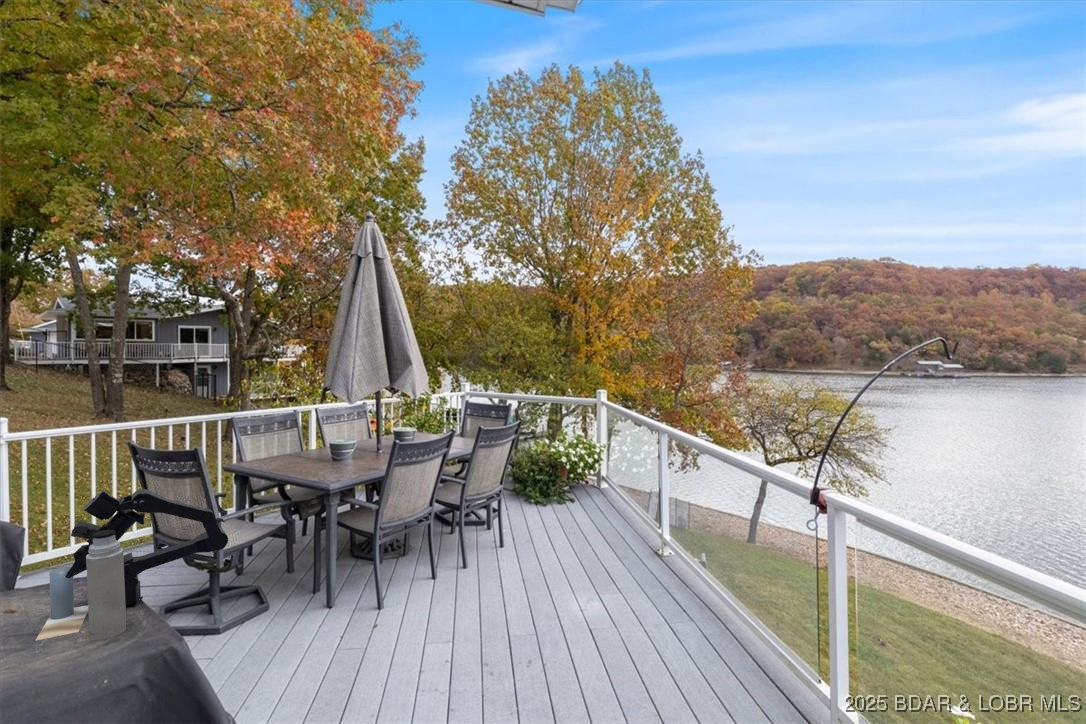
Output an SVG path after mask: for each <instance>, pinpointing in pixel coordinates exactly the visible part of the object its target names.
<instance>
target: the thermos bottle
mask: <svg viewBox="0 0 1086 724" xmlns="http://www.w3.org/2000/svg"><path fill="white" fill-rule="evenodd" d="M115 534H116V532H115V530H104V531H100V532H96V533H94V534H93V544H92V545H91V546H90V547H89V551H88V552H89V554H88V555H87V556H86V567H87V570H86V585H87V586H86V587H87V590H86V591H87V605H88V613H87V615H88V631H89V632H88V633H89V639H90V640H91V641H104V640H108V639H112V638H115V637H117V636H119V635H122V634H123V633H124V632H125V631H126V630H127V612H126V611H127V610H126V609H127V608H126V606H125V582H124V557H123V556H124V549H123V548H122V547H121V541H119V540H118V541H117V540H116V538H115Z"/></svg>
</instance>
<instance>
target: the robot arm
mask: <svg viewBox="0 0 1086 724" xmlns="http://www.w3.org/2000/svg"><path fill="white" fill-rule="evenodd" d="M82 511H84V512H85V513H87V514H89V515H91V516H93V517H94V518H97V519H98V520H100V521H104V520H105V521H106V520H108V521H107V522H106V523H104V524H102V525H98V524H95V523H89V522H86V521H79V522H77V523H76V524H75V525H74V527H73V529H71V533H70V536H71V537H73V538H80V539H85V540H86V543H88V544H82V545H81V546H80V547H79V548H78V549H77V550H76V551H75V552H74V553H73V554H72V556H73V559H74V562H73V564H72V565H71V566H70V567H71V568H70V570H69V571H68V573H67V574H66V576H65V577H66V578H68V579H69V578H71V577H73V578H74V577H75V576H76V575H79V574H81V573H83V572H85V571H87V567H86V556H87V555H88V554H89V552H88V551H89V547H90V546H91V545H92V544H93V534H94V533H96V532H100V531H104V530H115V532H116V534H115V538H116V540H117V541H119V540H120V539H121V538H122V537H123V536H124V535H125V534H126V533H127V532H128V531H129V530H130V529H132V527H133V526H134V525H135V524H136V523H138V524H140V525H142V526H143V525H145V521H146V518H145V517H146V516H145V515H146V513H147V514H158V513H159V514H166V515H169V516H175V517H179V518H183V519H186V520H192V521H195V522H199V523H201V524H202V526H203V528H204V530H205V531H203V532H202V533H201V534H199V535H198V536H196V537H195V538H193V539H189V540H187V541H184V542H181V543H178V544H175V545H172V546H169V547H165V548H162V549H159V550H156V551H154V552H150V553H148V554H146V553H145V554H143V555H139V556H133V553H132V552H128V553H126V554H123V557H124V582H125V606H126V609H129V608H135V607H136V606H137V605H138V604H139V603H140V602H141V601H142V600H143V598H144V596H142V593H141V581H140V580H139V575H140V574H142V573H144V571H147V570H150V569H153V568H156V567H158V566H162V565H165V564H168V563H171V562H174V561H177V560H180V559H183V558H186V557H189V556H192V555H195V554H200V553H201V554H202V553H211V552H217V551H221V550H224V549H225V548H226V546H227V545H228V543H229V536H228V535H227V533H226V532H225V530H224V529H223V528H221V527H220V526H219V524H218V522H217V520H216V518H215V514H214V512H213V511H212V510H211V509H210V508H204V507H199V506H195V505H192V504H187V503H184V502H179V501H176V500H172V499H168V498H166V497H163V496H161V495H160V494H158V493H156V492H155V491H154V492H153V491H152V490H150V489H147V488H141V489H138V490H136V491H134V492H133V493H132V494H129V495H125V496H122V497H120V498H116V497H114V496H113V495H111V494H109V492H107V491H106V490H104V489H103V490H102V491H100V492H99V493H98V494H96V495H95V496H94V497H92V498H91V499H90V500H89V501H88V502H87V504H86V505H85V506H84V508H83V509H82ZM139 599H140V600H141V601H140V600H139Z"/></svg>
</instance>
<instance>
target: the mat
mask: <svg viewBox="0 0 1086 724" xmlns="http://www.w3.org/2000/svg"><path fill="white" fill-rule="evenodd" d="M87 615H88V604H87V605H81V606H77V607H76V606H74V613H73V614H72V615H71V616H68V617H66V618H62V619H51V618H50V615H49V617H48V618H47V619H46V621H45V624H44V625H43V627H42V628H41V631H40V632H39V633H38V635H37V637H36V639H35V640H34V641H35V642H37V641H41V640H47V639H51V638H56V637H61V636H66V635H70V634H76V633H79V632H80V630H81V628H82V625H83V623H84V621H85V619H86V617H87Z"/></svg>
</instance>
